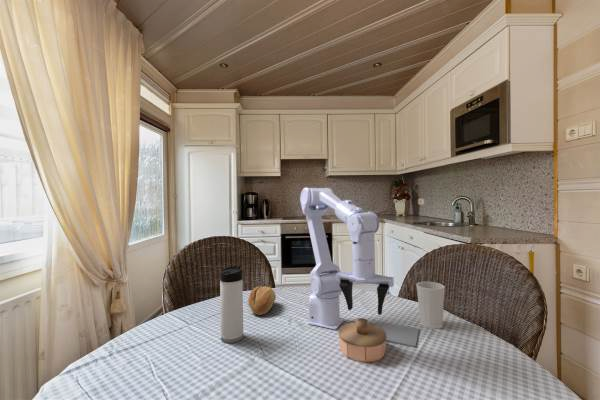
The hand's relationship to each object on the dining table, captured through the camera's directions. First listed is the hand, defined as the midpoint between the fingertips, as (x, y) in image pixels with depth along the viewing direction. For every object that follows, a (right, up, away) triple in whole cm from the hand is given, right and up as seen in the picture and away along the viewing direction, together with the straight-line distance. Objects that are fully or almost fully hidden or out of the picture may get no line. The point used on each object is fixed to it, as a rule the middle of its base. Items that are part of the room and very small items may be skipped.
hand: (364, 310), depth 70 cm
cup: (+24, -10, +14) cm, 29 cm away
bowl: (-1, -10, 0) cm, 10 cm away
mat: (+11, -10, +8) cm, 17 cm away
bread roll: (-31, -11, +28) cm, 43 cm away
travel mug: (-36, -11, +7) cm, 39 cm away
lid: (-1, -6, 0) cm, 6 cm away
